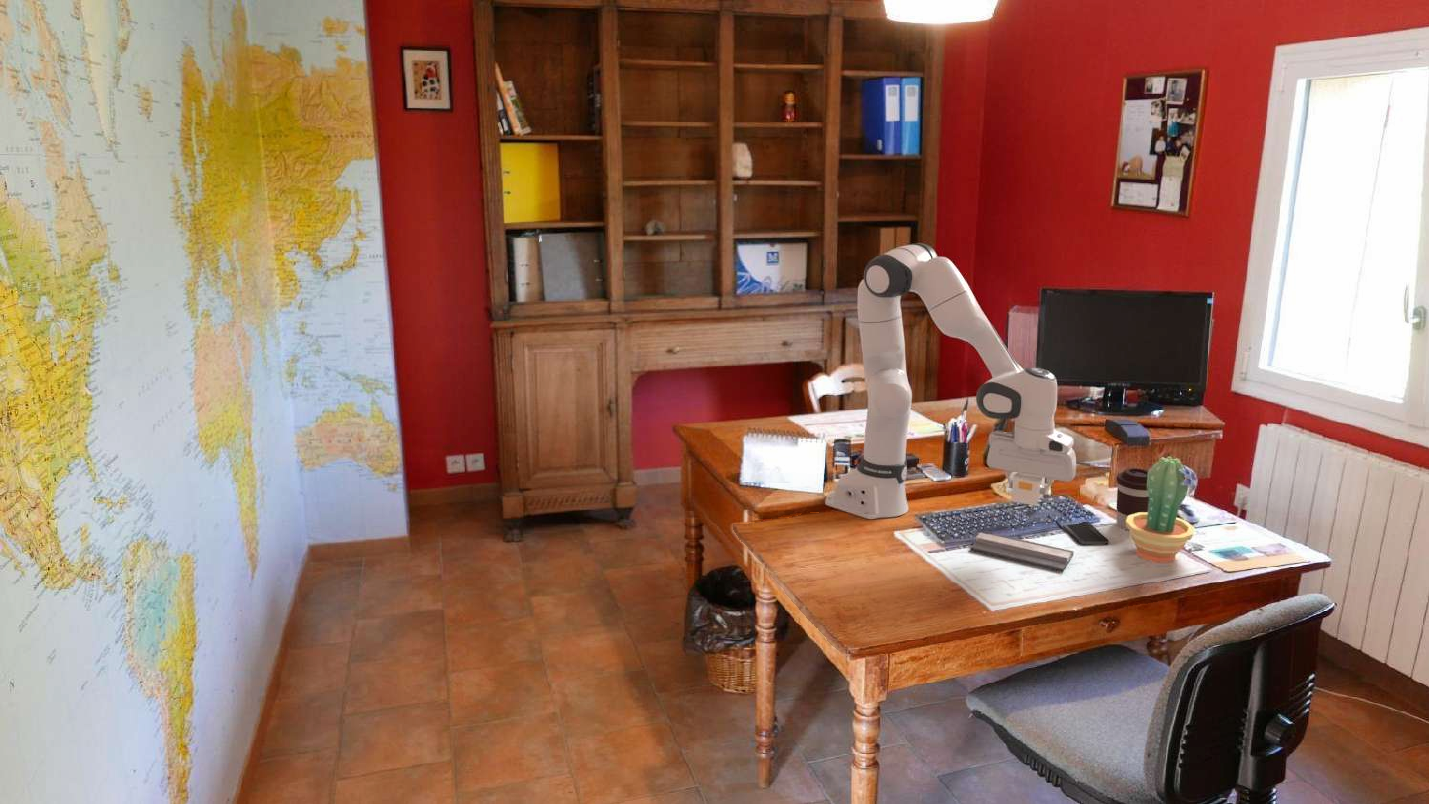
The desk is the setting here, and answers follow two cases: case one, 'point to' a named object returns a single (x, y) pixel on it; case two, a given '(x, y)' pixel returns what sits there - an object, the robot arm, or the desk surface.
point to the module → (1027, 489)
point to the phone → (1086, 534)
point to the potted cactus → (1163, 512)
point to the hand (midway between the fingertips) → (1028, 491)
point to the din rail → (1022, 551)
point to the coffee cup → (1131, 494)
